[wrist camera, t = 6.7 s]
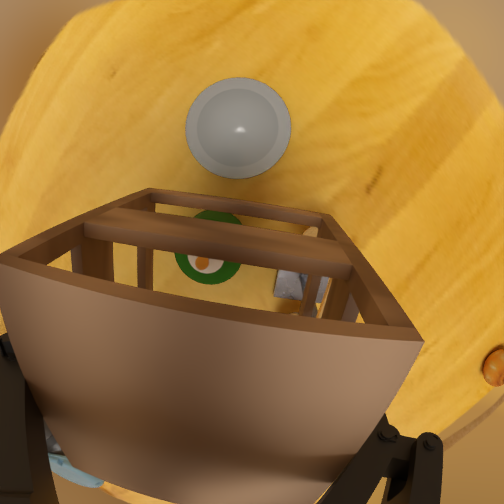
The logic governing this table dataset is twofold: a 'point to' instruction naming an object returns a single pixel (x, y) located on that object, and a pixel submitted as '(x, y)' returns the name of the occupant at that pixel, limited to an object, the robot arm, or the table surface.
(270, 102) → the dish
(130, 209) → the crate
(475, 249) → the table surface
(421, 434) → the robot arm
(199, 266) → the candle
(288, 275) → the balance
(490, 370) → the brown onion
